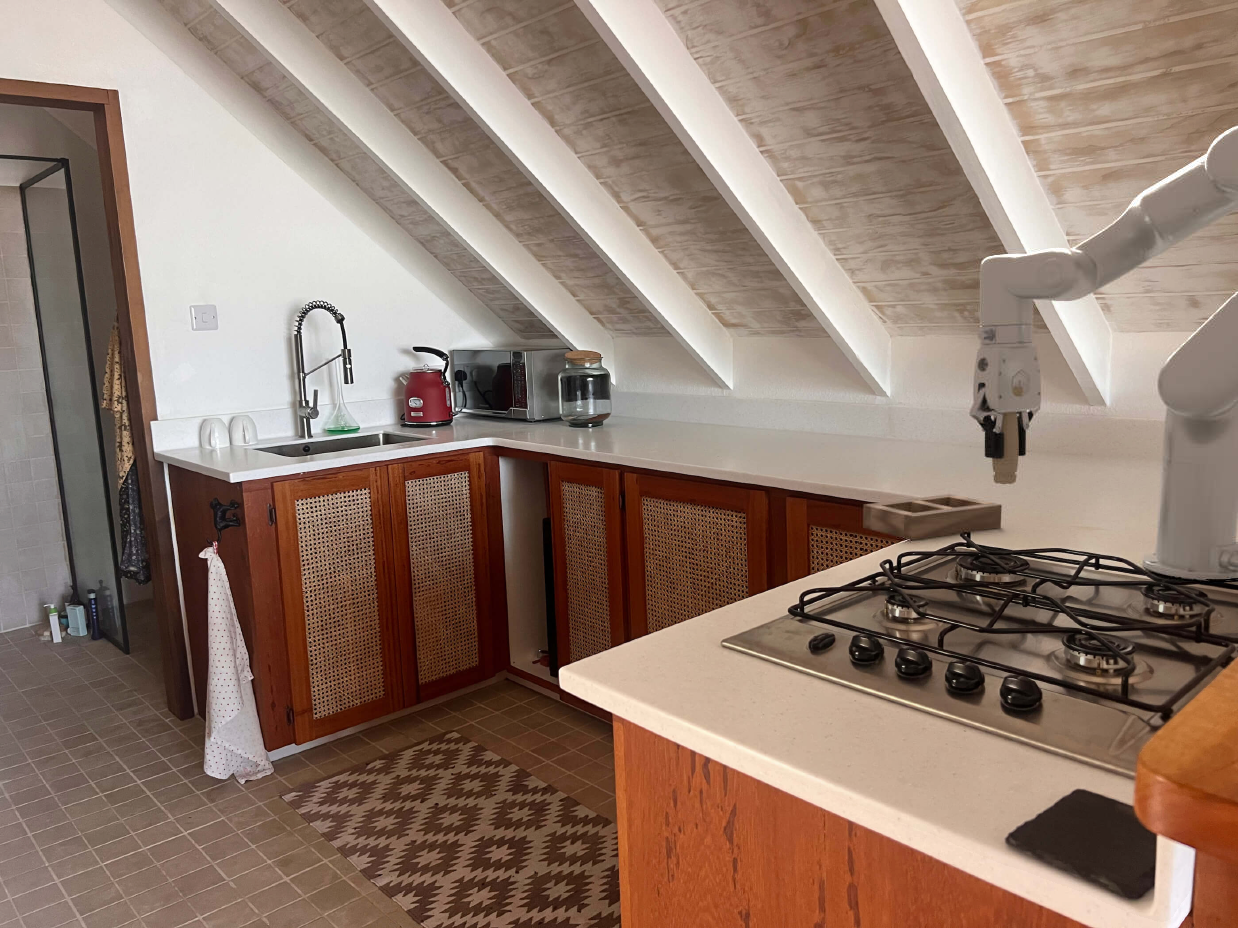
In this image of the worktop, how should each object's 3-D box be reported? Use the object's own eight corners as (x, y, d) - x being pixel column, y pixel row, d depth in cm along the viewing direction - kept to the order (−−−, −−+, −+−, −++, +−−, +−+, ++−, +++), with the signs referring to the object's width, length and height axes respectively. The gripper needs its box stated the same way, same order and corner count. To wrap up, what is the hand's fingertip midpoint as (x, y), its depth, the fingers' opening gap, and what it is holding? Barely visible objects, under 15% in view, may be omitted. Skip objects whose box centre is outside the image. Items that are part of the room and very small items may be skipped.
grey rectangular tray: (1000, 527, 165) (1001, 504, 164) (912, 540, 156) (912, 516, 156) (948, 515, 176) (949, 494, 175) (863, 527, 167) (863, 504, 166)
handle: (1014, 479, 152) (1015, 384, 150) (1027, 485, 145) (1028, 386, 144) (983, 480, 152) (983, 386, 150) (994, 486, 146) (995, 388, 144)
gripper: (985, 338, 139) (984, 463, 141) (1065, 335, 146) (1063, 453, 149) (946, 340, 146) (946, 459, 148) (1024, 336, 153) (1023, 450, 155)
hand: (1005, 455), depth 148 cm, fingers closed on handle, 4 cm apart
